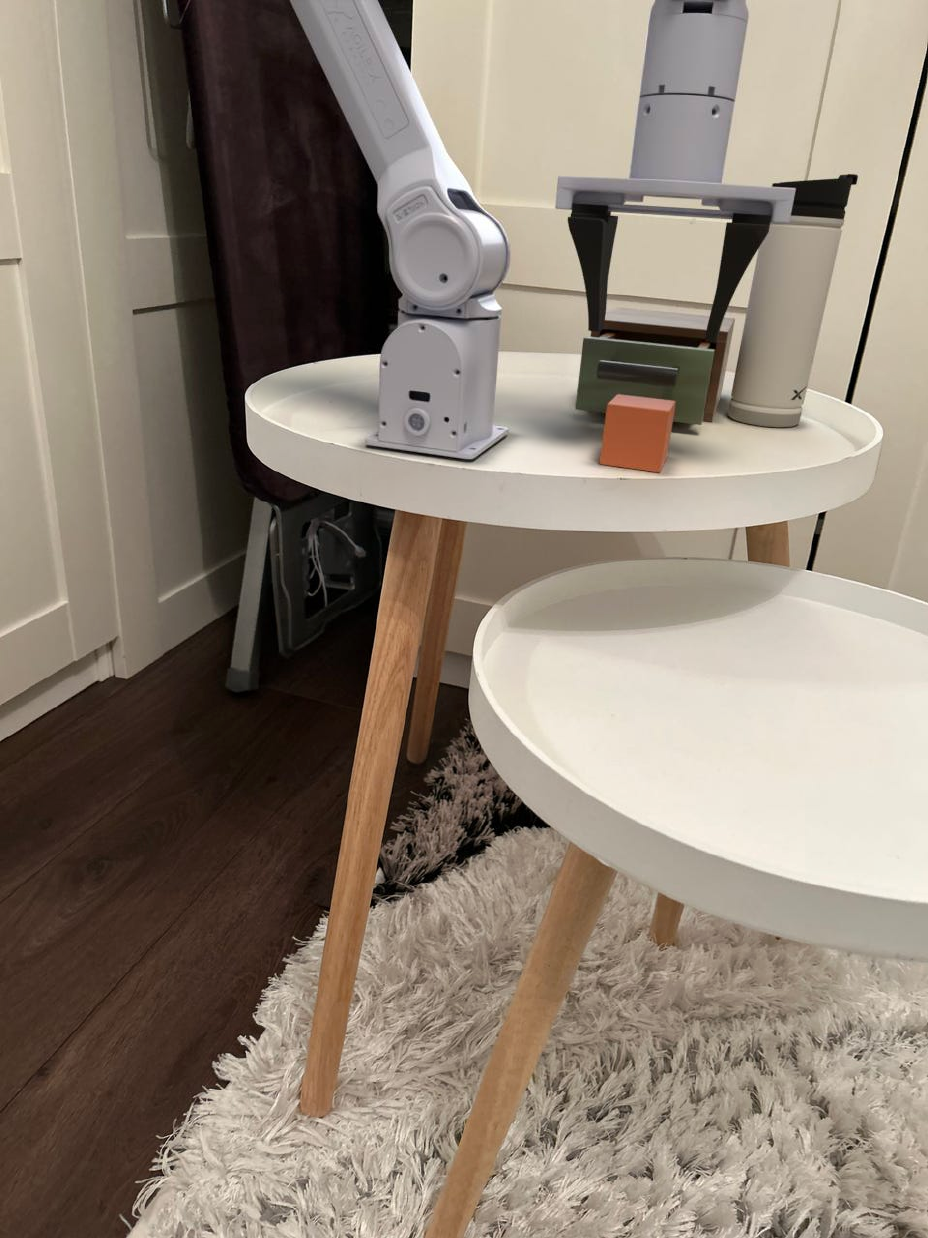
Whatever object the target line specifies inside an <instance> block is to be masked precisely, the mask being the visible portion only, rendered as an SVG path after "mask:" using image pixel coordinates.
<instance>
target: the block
mask: <svg viewBox="0 0 928 1238" xmlns="http://www.w3.org/2000/svg"><path fill="white" fill-rule="evenodd" d="M675 404H676V401H671V400H663V399H655V398H646V397H638V396H629V395H621V394H617V395H616V396H615V397H614V398H613V399H612V400H611V401H610V402H609V403H608V404H607V410H606V413H605V419H604V427H603V434H602V442H601V450H600V457H599V465H602V466H610V467H617V468H623V469H632V470H639V471H645V472H651V473H661V471H662V469H663V467H664V465H665V463H666V461H667V458H668V454H669V446H670V441H671V435H672V428H673V424H674V423H673V417H674V410H675Z"/></svg>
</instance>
